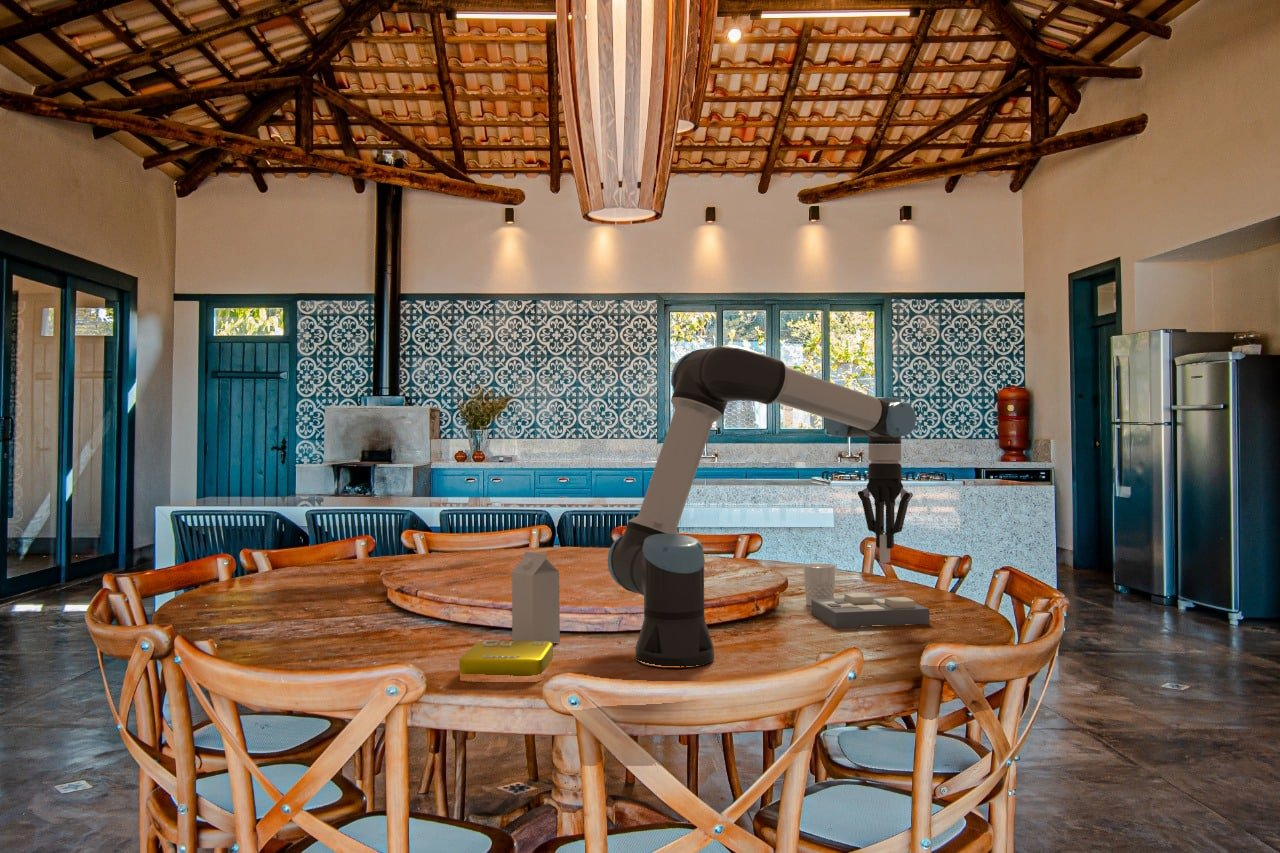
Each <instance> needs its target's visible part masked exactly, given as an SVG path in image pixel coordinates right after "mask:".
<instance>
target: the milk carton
mask: <svg viewBox="0 0 1280 853" xmlns="http://www.w3.org/2000/svg"><path fill="white" fill-rule="evenodd" d="M560 604H561V603H560V571H559V570H558V568H556V567H555V566H554V564H552V563H551V562H550V561H549V560H548V559H547V553H543V552H534V551H527V550H525V551H524V556H523V558H522V559H521V560H520V562H518V564H517V565H516V566H515V567H514V569H513V570H512V571H511V611H512V612H511V614H512V615H511V616H512V617H511V622H512V626H511V627H512V630H511V631H512V632H511V633H512V639H511V641H512V640H513V641H548V642H551V643H553V642H560V643H561V633H560V632H561V631H560V630H561V626H560V624H561V622H560V620H561V619H560V618H561V613H560V612H561V611H560V609H561V608H560V607H561V606H560Z"/></svg>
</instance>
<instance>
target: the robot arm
mask: <svg viewBox="0 0 1280 853" xmlns="http://www.w3.org/2000/svg"><path fill="white" fill-rule="evenodd" d="M670 378H671V379H670V383H671V386H672V391H673V393H672V396H671V398H670V399H671V400H670V402H671V404H672V407H673V408H674V412H673V414H672V417H671V420H670V423H669V427H668V428H667V429H668V430H667V432H666V434H665V438H664V441H663V444H662V445H661V446H662V447H661V449H660V452H659V455H658V457H657V459H656V460H657V461H656V463H655V466H654V469H653V472H652V475H651V478H650V480H649V484H648V487H647V489H646V492H645V496H644V497H643V501H642V504H641V507H640V508H639V509H640V510H639V512H638V514H637V515H636V516H635V517H632V518H631V519H629V520H628V521H627V525H626V527H625V530H624V533H623V534H622V535H621V536H619V537H617V538H616V539H615V540H614V541H613V543H612V544H611V546H610V547H609V550H608V553H607V554H608V555H607V567H608V571H609V574H610V576H611V577H612V580H614V581H615V583H616V584H618V585H619V586H620V587H622V588H623V589H625V590H626V591H628V592H631V593H633V594H639V595H641V596H643V610H644V611H643V614H644V615H643V621H642V625H641V627H640V632H639V634H638V637H637V642H636V645H635V651H634V652H635V660H636V659H637V660H639V661H642V662H645V663H649V664H655V665H661V666H680V667H681V666H684V667H686V666H696V665H702V666H704V665H703V664H706V665H708V664H710V663H712V662H714V661H715V648H714V644H713V641H712V638H711V634H710V632H709V629H708V626H707V622H706V619H705V563H706V562H705V561H706V560H705V555H704V554H705V553H704V546H703V544H702V542H700V540H699V539H697V538H695V537H692V536H688V535H685V534H684V535H683V534H682V535H681V534H680V533H679V532H678V527H679V525H680V520H681V518H682V515H683V513H684V508H685V506H686V503H687V500H688V496H689V494H690V491H691V490H692V485H693V482H694V479H695V477H696V474H697V470H698V468H699V465H700V462H701V459H702V456H703V454H704V450H705V447H706V445H707V442H708V438H709V436H710V432H711V430H712V427H713V424H714V423H715V422H718V421H719V420H722V419H723V417H724V413H725V411H726V408H727V405H728V403H729V402H734V401H735V402H737V401H742V402H743V401H744V402H745V401H747V402H748V401H750V402H756V403H761V404H764V405H771V404H773V403H776V404H780V405H783V406H786V407H789V408H794V409H795V410H799V411H803V412H806V413H809V414H812V415H815V416H819V417H822V418H824V426H825V429H826V431H827V433H828V434H829V435H830V436H831V437H834V438H842V439H843V438H868V461H870V463H869V464H868V483H867V484H866V487H865V488H864V489H862V490H858V492H857V496H858V498H859V499H860V500H861V504H862V508H863V512H864V517H865V518H864V519H865V520H866V526H867V529H868V531H869V532H872V533H874V534H875V546H876V548H877V549H879V563H884V564H887V563H891V549H894V546H895V534H898V533H900V532H901V533H902V531H903V527H904V524H905V518H906V514H907V510H908V507H909V502H910V501H911V500H912V497H914V494H913V493H912V492H911V491H910V492H909V491H908V490H906V489H905V488H904V484H903V483H902V464H901V463H900V461H902V437H905V436H908V435H910V434H911V433H912V432H913V431H914V429H915V426H916V424H917V423H916V421H917V416H916V411H915V410H914V407H912V406H911V405H910V404H909V403H908V402H905V401H904V402H903V401H901V400H900V398H897V397H894V396H893V397H890V396H889V397H885V396H883V397H882V396H881V397H875V396H872V395H869V394H866V393H863V392H860V391H857V390H854V389H851V388H849V387H846V386H842V385H841V384H840V385H839V384H837V383H834V382H832V381H827V380H825V379H821V378H818V377H816V376H813V375H811V374H808V373H805V372H801V371H798V370H795V369H792V368H790V367H787V366H786V364H785V363H784V361H783V360H782V359H779V358H776V357H772V356H770V355H767V354H765V353H762V352H759V351H756V350H752V349H750V348H747V347H743V346H739V345H735V344H723V345H719V346H715V347H711V348H699V349H694V350H692V351H690V352H689V353H687V354H685V355H683V356H682V357H680V358H679V359H678V361H677V362H676V363H675V365H674V367H673V370H672V372H671V377H670ZM870 496H871V497H872V498H873V499H874V507H875V510H874V509H873V506H872V502H871V498H870ZM898 497H899V498H900V501H899V504H898V509H897V512H896V515H895V506H896V500H897V498H898ZM873 510H874V511H873ZM895 516H896V517H895ZM711 661H712V662H711ZM709 662H710V663H709ZM707 663H708V664H707Z"/></svg>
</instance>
